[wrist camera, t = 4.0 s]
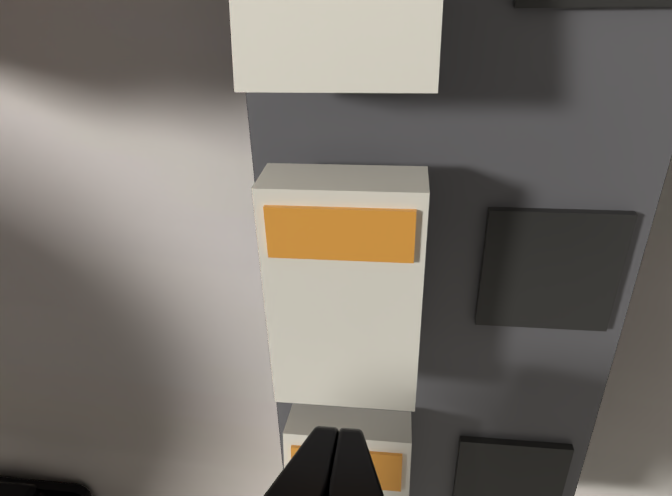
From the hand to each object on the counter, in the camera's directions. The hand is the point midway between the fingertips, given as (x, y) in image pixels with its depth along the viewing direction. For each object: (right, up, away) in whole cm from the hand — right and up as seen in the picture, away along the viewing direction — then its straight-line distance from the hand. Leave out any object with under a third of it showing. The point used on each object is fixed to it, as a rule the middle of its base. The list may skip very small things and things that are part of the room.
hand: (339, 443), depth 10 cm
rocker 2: (0, +3, +1) cm, 3 cm away
